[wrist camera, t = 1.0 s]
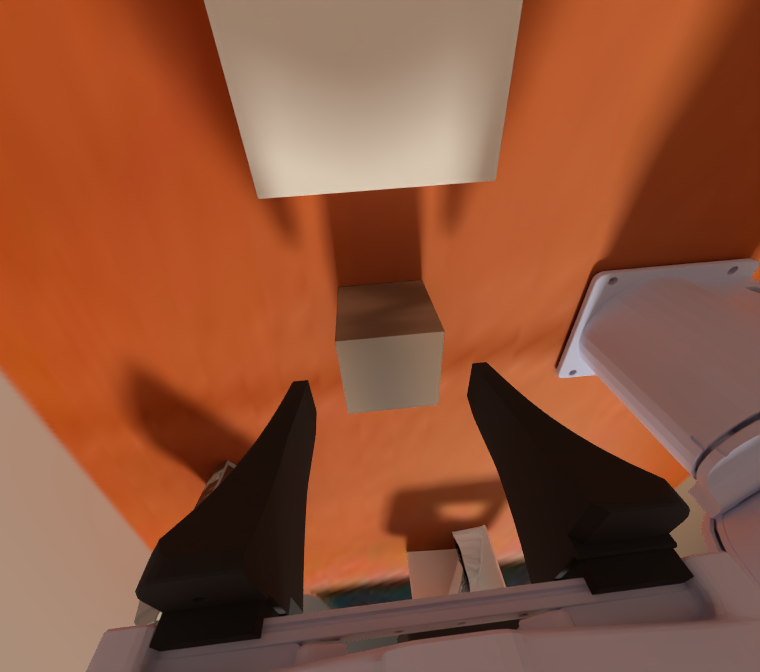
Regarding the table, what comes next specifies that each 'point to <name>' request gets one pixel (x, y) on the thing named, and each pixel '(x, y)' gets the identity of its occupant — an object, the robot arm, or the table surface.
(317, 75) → the base block
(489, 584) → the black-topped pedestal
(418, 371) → the grayish beige block
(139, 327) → the table surface
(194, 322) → the table surface
